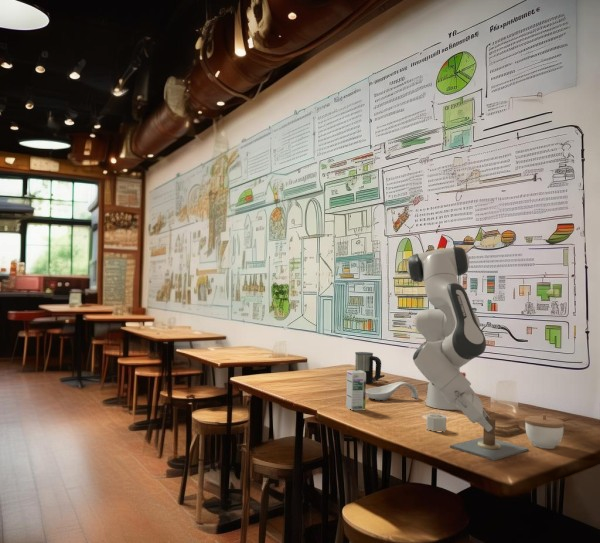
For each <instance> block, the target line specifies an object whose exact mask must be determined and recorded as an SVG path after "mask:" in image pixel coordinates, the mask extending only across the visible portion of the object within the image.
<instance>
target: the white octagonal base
mask: <svg viewBox="0 0 600 543" xmlns="http://www.w3.org/2000/svg"><path fill="white" fill-rule="evenodd" d="M425 420H426V425H425V426H426V430H427V429H429V430H432V431H445V432H446V430H447V416H446V415H443V414H439V413H428V414H426V419H425ZM429 430H428V431H429ZM432 431H431V432H432Z"/></svg>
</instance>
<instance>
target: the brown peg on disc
mask: <svg viewBox="0 0 600 543" xmlns="http://www.w3.org/2000/svg"><path fill="white" fill-rule="evenodd" d="M485 420H486V421H487V422H489V423H490V425H491V426H492V430H490V431H489V432H488V431H487V430H486V429H485V428H484V427H483V436H482V438H483V441H479V442H478V446H479V447H481V448H484V449H489V450H498V449H500V444H498V443H495V439H496V419H494V418H491V419H489V418H485Z"/></svg>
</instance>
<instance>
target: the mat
mask: <svg viewBox="0 0 600 543" xmlns="http://www.w3.org/2000/svg"><path fill="white" fill-rule="evenodd" d="M479 441H483V437H479V438H475V439H471V440H467V441H462V442H458V443H455V444H454V443H453V444H450V445H449V448H452V449H454V450H457V451H461V452H464V453H467V454H471V455H474V456H477V457H481V458H484V459H487V460H491V461H497V460H500V459H503V458H507V457H511V456H514V455H518V454H521V453H524V452H529V448H528V447H525V446H522V445H517V444H513V443H511V442H506V441H503V440H499V439H496V438H495V443H498V444H500V449H498V450H489V449H484V448H481V447H479V446H478V442H479Z"/></svg>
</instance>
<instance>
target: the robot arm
mask: <svg viewBox="0 0 600 543" xmlns="http://www.w3.org/2000/svg"><path fill="white" fill-rule="evenodd" d="M469 266H470V258H469V255H468V254H467V252H466V250H465V249H464V248H463V247H459V246H453V247H452V248H451V247H448V248H446V247H445V248H437V249H433V250H427V251H425V252H422V253H414V254H412V255H410V256H409V257H408V258H407V263H406V271H407V274H408V276H409V278H410V280H411V281H413V282H416V283H422V282H423V283H424V285H423V286H424V289H425V294H426V297H427V300H428V302H429V304H430V305H431V306H432V307H435V308H426V309H421V310H419V311H418V312H417V314H415V318H414V326H415V329H416V331H418V333H419V334H421V335H422V336H423V338H424V339H425V340H426V341H424V342H422V343H421V344H420V345H419V347H418V348H417V349H416V350H415V352H414V353H413V355H412V360H413V363H414V365H415V366H416V368H417V369H418V370H419V372H420V373H421V374H422V375H423V376H424V378H426V379H427V381H429V382H428V386H427V393H426V399H425V400H424V403H425V405H426V406H428V407H431V408H435V409H439V410H450V411H461V412H462V413H463V415H464V416H466V418H467V419H468V420H469V421H470V422H471V423H472V424H475V423H478V424H479V425H480V426H481V427H482V428H483V429H484V428H485V429H486V430H487V431H488V432H489V431H490V430H492V426H491V425H490V423H489V422H487V421H486V420H485V418H489V419H492V418H491V417H490V416H489V415H488V414H487V411H486V410H485V409H484V408H483V402H482V400H481V399H480V397H479V396H478V395H477V393H476V392H475V391H474V390H473V389H472V387H471V385H472V383H471V382H470V380H469V379H468V378H467V376H466V372H465V371H464V372H463V371H461V370H460V368H462V367H463V366H465V365H466V364H468V363H469V362H470V361H472V360H473V359H476V358H477V357H479V356H481V355H482V354H483V353H485V351H486V347H487V341H486V340H487V339H486V336H485V333H484V332H483V330H482V329H481V327H480V326H481V325H480V323H481V322H480V319H479V316H478V315H477V314H476V313H475V312H474V310H473V307H472V305H471V301H470V298H469V296H468V294H467V291H466V290H465V288H464V287H463V285H462V284H460V283H459V279H458V277H459V276H463V275H465V274H467V272H468V271H469V268H470V267H469Z"/></svg>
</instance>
